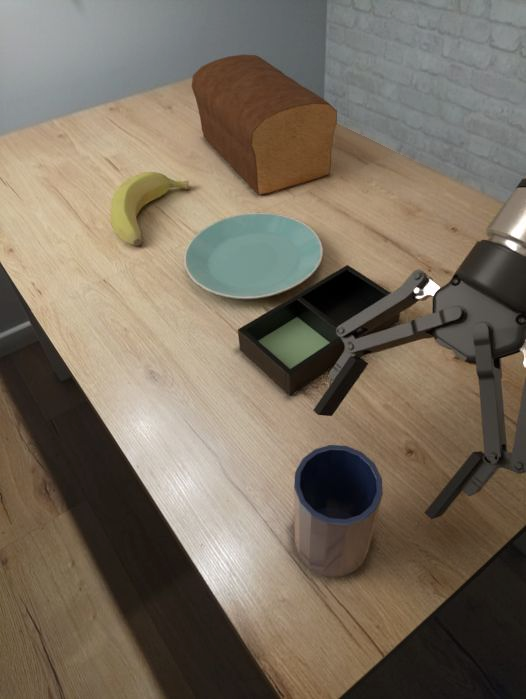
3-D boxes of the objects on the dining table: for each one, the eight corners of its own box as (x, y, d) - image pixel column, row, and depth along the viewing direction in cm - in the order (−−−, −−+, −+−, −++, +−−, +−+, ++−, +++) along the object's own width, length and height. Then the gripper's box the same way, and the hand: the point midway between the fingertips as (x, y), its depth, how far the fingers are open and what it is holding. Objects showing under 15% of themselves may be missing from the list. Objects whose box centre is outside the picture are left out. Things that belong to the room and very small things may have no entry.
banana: (83, 187, 89) (171, 156, 100) (84, 213, 93) (169, 180, 105) (134, 232, 85) (220, 194, 97) (133, 257, 89) (215, 218, 101)
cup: (383, 544, 52) (401, 487, 43) (330, 593, 49) (337, 543, 40) (332, 492, 56) (338, 430, 47) (280, 535, 53) (276, 477, 44)
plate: (178, 313, 77) (175, 299, 75) (193, 228, 92) (190, 214, 90) (327, 308, 76) (328, 294, 74) (317, 223, 91) (318, 209, 89)
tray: (398, 321, 73) (402, 300, 70) (290, 396, 65) (289, 375, 62) (345, 285, 79) (347, 264, 76) (239, 350, 71) (237, 329, 68)
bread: (269, 120, 121) (266, 43, 109) (336, 175, 102) (341, 89, 90) (197, 138, 116) (185, 60, 104) (253, 200, 97) (247, 113, 85)
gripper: (683, 351, 38) (502, 558, 43) (417, 212, 52) (304, 382, 57) (691, 335, 32) (479, 578, 37) (388, 183, 46) (264, 376, 51)
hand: (373, 460), depth 47 cm, fingers open, 13 cm apart
